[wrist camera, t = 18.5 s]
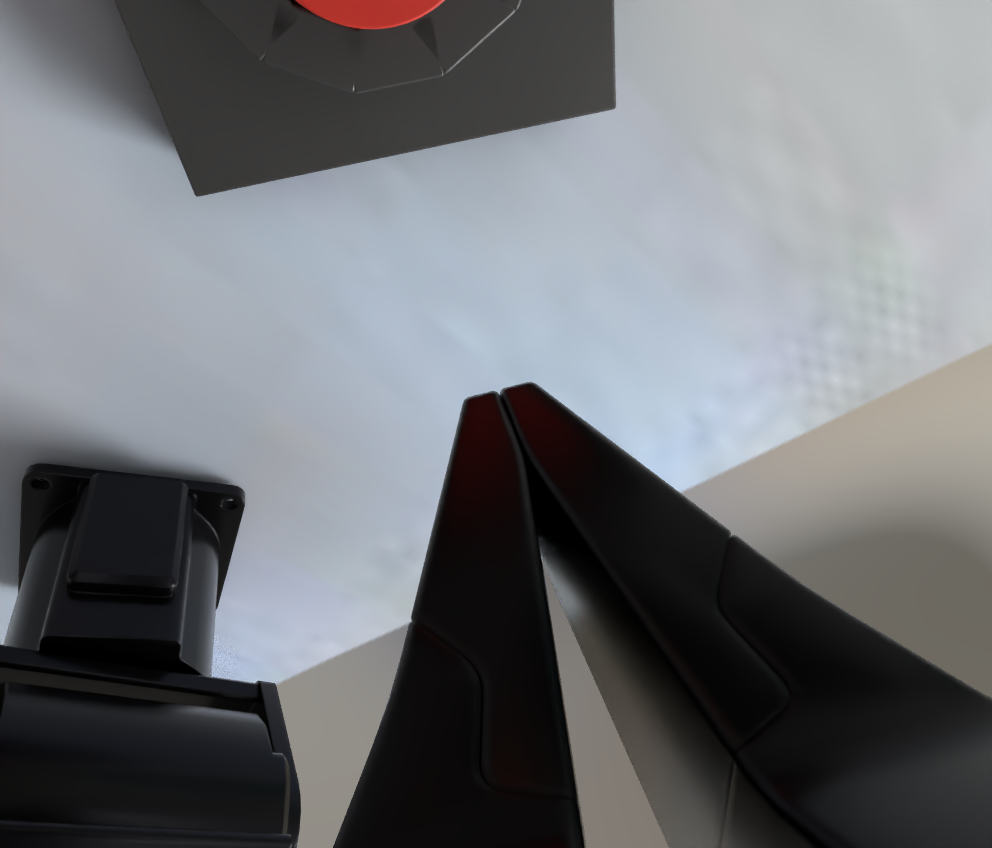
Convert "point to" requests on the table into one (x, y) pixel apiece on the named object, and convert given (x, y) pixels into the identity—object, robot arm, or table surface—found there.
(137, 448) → the table surface
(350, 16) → the button
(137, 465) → the table surface
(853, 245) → the table surface
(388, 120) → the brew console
